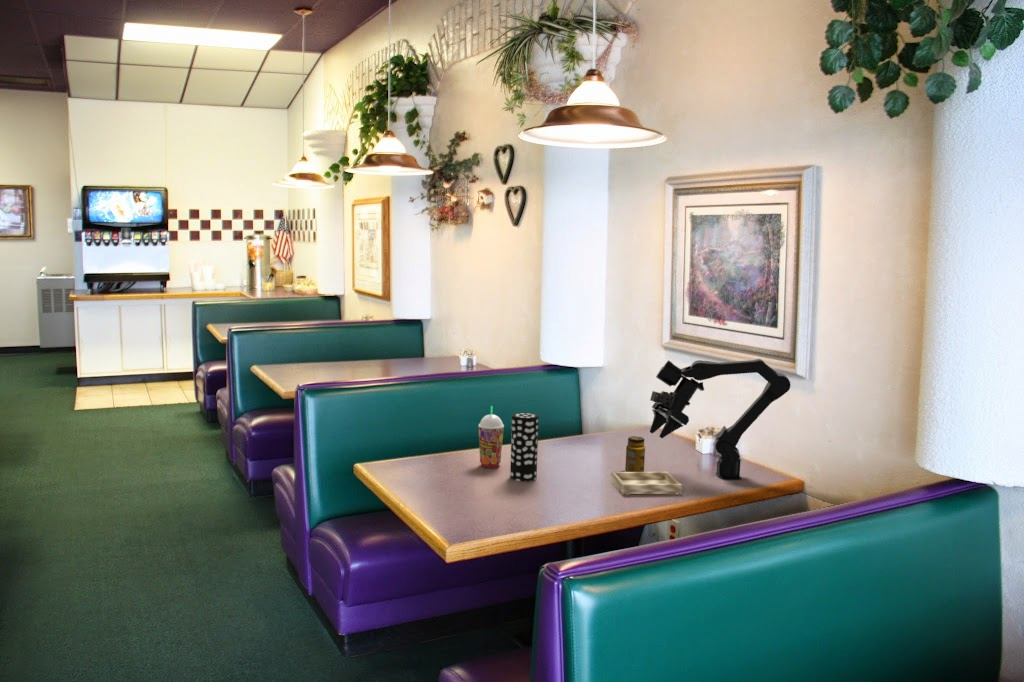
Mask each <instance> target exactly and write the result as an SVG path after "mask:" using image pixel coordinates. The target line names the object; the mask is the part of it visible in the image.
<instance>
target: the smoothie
mask: <svg viewBox="0 0 1024 682" xmlns="http://www.w3.org/2000/svg"><path fill="white" fill-rule="evenodd" d="M493 408H494V407H493V405H490V414H486V415H484V416H483V417H482V418H481V420H480V422H479V423H478V426H477V427H478V441H479V442H478V445H479V449H478V450H479V463H480V464H481V467H483V468H486V469H494V468H495V469H496V468H499V466H500V463H501V461H502V451H503V438H504V429H505V428H504V427H505V424H504V423H503V421H502V419H501V418H500V417H499V416H498V415H496V414H493V410H494V409H493Z"/></svg>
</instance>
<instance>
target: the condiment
mask: <svg viewBox="0 0 1024 682" xmlns="http://www.w3.org/2000/svg"><path fill="white" fill-rule="evenodd" d="M625 450H626V451H625V452H626V453H625V464H624V465H625V469H624V470H620V471H619V472H625V471H626V472H645V459H646V446H645V438H644V437H642V436H638V435H637V436H635V435H634V436H632V435H631V436H628V438H627V445H626V449H625Z"/></svg>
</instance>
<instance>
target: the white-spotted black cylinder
mask: <svg viewBox="0 0 1024 682" xmlns="http://www.w3.org/2000/svg"><path fill="white" fill-rule="evenodd" d="M539 419H540V418H539V414H537V413H532V412H515V413H513V414H512V415H511V435H510V436H511V438H510V442H511V443H510V467H509V468H510V470H509V471H510V473H509V474H510V475H509V477H510V479H511V480H513V481H516V482H532V481H536V479H537V478H538V477H537V475H538V473H537V472H538V448H539V447H538V445H539V444H538V443H539Z"/></svg>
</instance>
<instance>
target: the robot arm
mask: <svg viewBox="0 0 1024 682" xmlns="http://www.w3.org/2000/svg"><path fill="white" fill-rule="evenodd" d="M755 373H756V374H759V375H760V376H761V377H762V378H763V379H764V380H765V381H767V382H766V384H765V386H764V387H763V390H762V392H761V394H760V395H759V396H758V397H757V398H756V399H755V400H754V401H753V402H752V404H751V405H750V406H749V407H747V409H746V410H745V411H744V412H743V414H741V416H740V417H739V418H738V419H737V420H736V421H735V422H734V423H733V424H732V425H731V426H729V427H726V426H725V425H723V427H722V428H721V430H720V431H718V432H717V433H716V434H715V439H714V446H715V447H714V448H715V450H716V452H717V453H718V454H719V455H720V456H718V461H717V462H716V470H715V474H716V475H717V476H718V477H719V478H720V479H722V480H735V479H736V480H741V479H742V476H741V463H742V462H741V461H742V460H741V455H740V451H739V448H738V447H737V445H738V443H739V442H740V439H741V437H742V435H743V434H744V433H745V432H746V431H747V430H748V429H749V428H750V426H752V424H753V423H754V422H755V421H756V420H757V419H758V418H759V417H760V415H762V414H763V412H764V411H765V410H766V409H767V408H768V407H769V406H770V405H771V404H772V403H773V402H775V401H776V400H778V399H780V398H781V397H782V396H784V395H785V394H786V393H788V392H789V391H790V388H791V381H790V379H789V378H788V377H787V375H785V374H784V373H781V372H777V371H776V370H775V369H773V368H772V367H770V366H769V364H766V362H765V360H763V359H762V358H759V359H758V358H757V359H752V360H739V361H725V362H724V361H722V362H716V361H712V360H711V361H708V360H702V359H701V360H695V361H694V362H692V363H691V365H689V366H686V367H682V368H680V367H678V366H677V365H676V364H674V363H673V362H672V361H671V360H667V361H666V362H665V363H664V365H663V366H662V367H661V368H660V369H659V371H658V373H657V374H656V375H655V378H656V379H658V380H659V381H661V382H663V383H664V384H666V385H667V386H669V387H671V386H676V385H677V384H678V383H679V384H678V385H677V386H676V387H675V389H674V390H673V391H669V392H668V391H664V390H662V391H661V392H658V391H654V390H653V391H652V393H651V396H650V398H649V401H651V402H654V403H653V405H652V406H651V408H652V412H653V420H652V422H651V426H650V429H649V433H651V434H654V433H655V432H656V431H658V430H659V429H660V428H661V427H662V426H663V427H662V430H661V432H660V433H659V438H660V439H664V438H665V437H667V436H669V435H670V434H672V433H674V431H677V430H679V429H680V428H683V427H684V426H687V424H688V423H689V421H690V418H689V416H688V415H687V414H685V413H684V412H683V411H684V409H685V408H686V406H688V407H689V406H690V405H691V402H690V401H691V399H692V398H693V396H694V394H695V393H696V392H697V390H699V391H701V392H703V391H705V387H704V382H703V381H704V380H708V379H713V378H715V377H718V376H725V375H726V376H727V375H739V374H740V375H741V374H743V375H744V374H755ZM689 378H690V379H689ZM698 381H700V382H698Z"/></svg>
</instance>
